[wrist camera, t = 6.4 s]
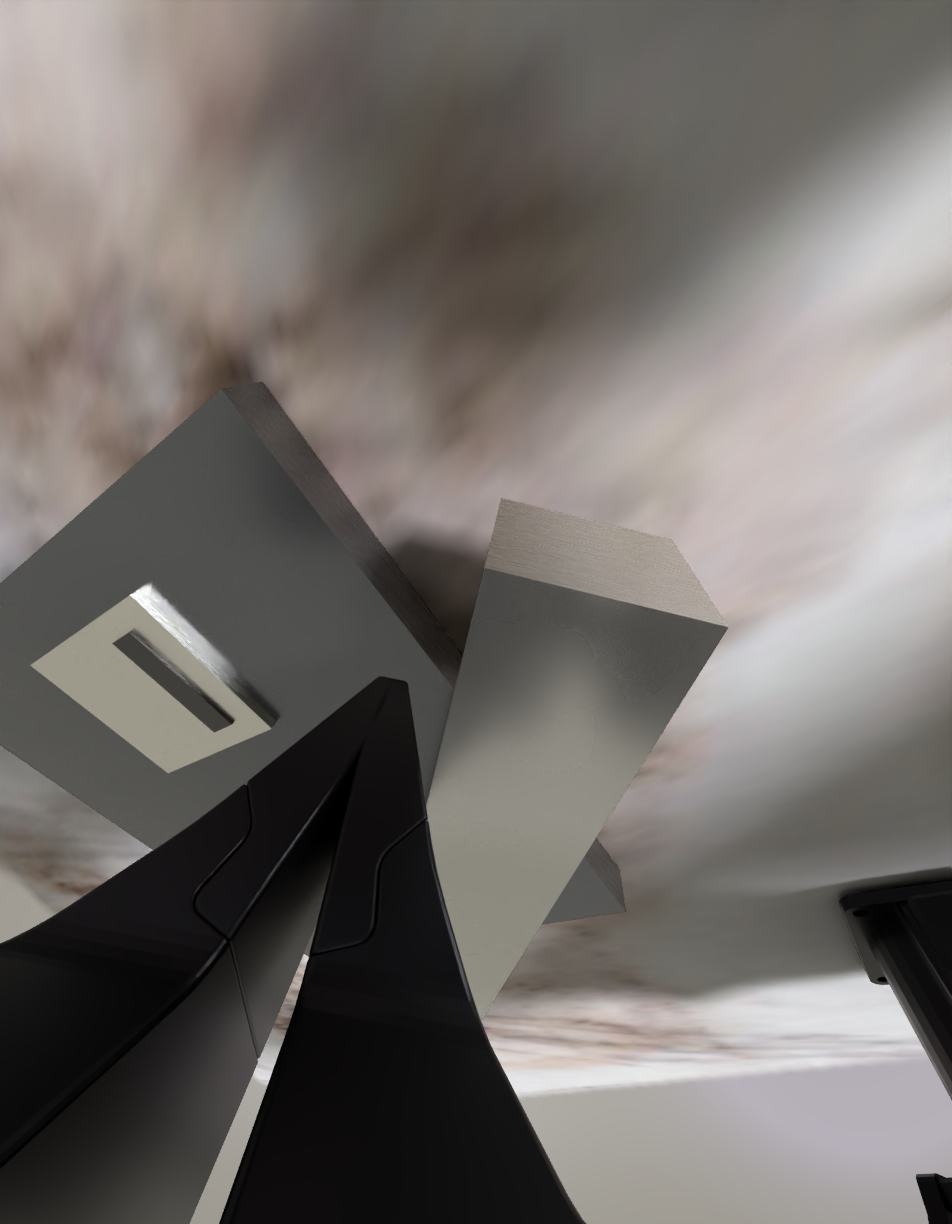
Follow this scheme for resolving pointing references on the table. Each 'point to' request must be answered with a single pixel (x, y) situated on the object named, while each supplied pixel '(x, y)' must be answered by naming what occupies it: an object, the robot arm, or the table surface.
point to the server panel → (218, 631)
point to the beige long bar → (554, 716)
